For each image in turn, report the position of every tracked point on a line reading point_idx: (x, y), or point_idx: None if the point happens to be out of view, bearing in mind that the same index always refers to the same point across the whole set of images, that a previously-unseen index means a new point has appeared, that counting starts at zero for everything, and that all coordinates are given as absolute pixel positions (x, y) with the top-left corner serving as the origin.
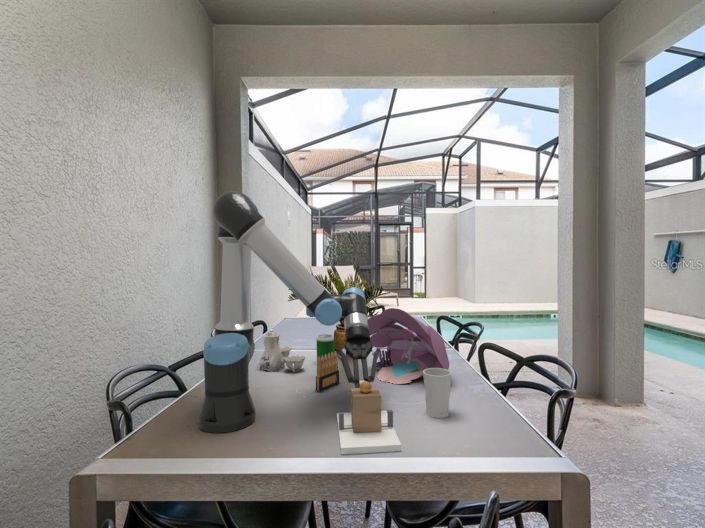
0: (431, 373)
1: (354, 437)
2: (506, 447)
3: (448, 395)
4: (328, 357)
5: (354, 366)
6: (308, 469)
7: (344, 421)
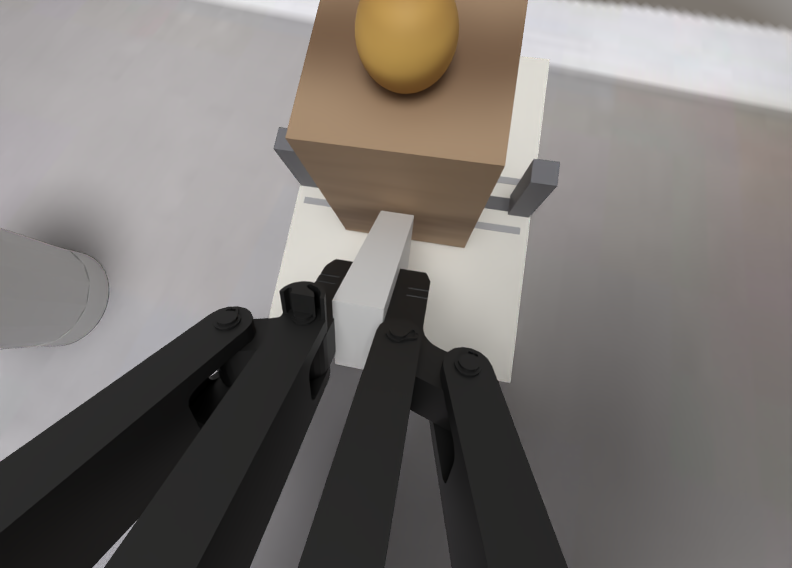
0: None
1: None
2: (40, 15)
3: None
4: None
5: (389, 496)
6: (659, 20)
7: (491, 273)
